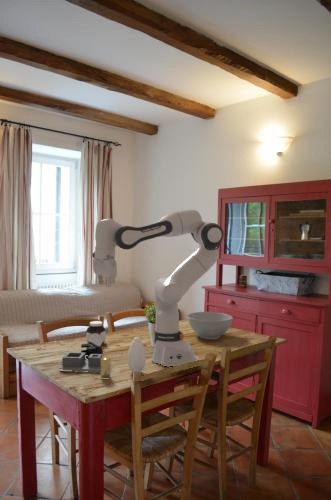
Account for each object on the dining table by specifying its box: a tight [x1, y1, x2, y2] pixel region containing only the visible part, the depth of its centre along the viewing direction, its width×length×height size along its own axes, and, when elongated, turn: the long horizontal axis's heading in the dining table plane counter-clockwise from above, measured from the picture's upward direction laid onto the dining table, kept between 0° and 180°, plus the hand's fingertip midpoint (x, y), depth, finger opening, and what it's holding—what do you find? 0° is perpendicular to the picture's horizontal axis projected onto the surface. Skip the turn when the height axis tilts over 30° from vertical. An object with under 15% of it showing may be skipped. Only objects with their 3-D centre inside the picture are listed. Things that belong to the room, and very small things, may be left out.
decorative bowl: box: [186, 311, 234, 340], centre depth 230 cm, size 27×27×12 cm
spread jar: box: [85, 320, 107, 347], centre depth 208 cm, size 12×11×12 cm
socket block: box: [59, 351, 103, 372], centre depth 173 cm, size 18×12×6 cm, turn 87°
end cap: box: [80, 342, 104, 359], centre depth 186 cm, size 10×7×7 cm
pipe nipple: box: [100, 356, 112, 379], centre depth 161 cm, size 4×4×8 cm
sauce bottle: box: [127, 331, 147, 372], centre depth 167 cm, size 8×8×18 cm
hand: (104, 285), depth 175 cm, fingers open, 8 cm apart
